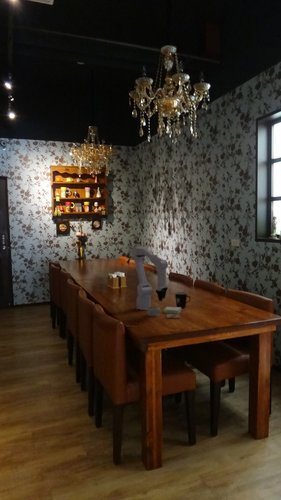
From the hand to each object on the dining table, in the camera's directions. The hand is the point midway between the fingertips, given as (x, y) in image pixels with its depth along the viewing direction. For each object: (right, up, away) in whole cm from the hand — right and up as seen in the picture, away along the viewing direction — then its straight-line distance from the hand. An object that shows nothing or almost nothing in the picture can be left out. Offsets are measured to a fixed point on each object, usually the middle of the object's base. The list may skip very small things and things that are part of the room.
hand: (161, 299), depth 218 cm
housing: (-6, -10, -2) cm, 12 cm away
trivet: (+6, -10, -7) cm, 14 cm away
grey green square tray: (+8, -9, +7) cm, 13 cm away
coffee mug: (+15, -8, +18) cm, 25 cm away
